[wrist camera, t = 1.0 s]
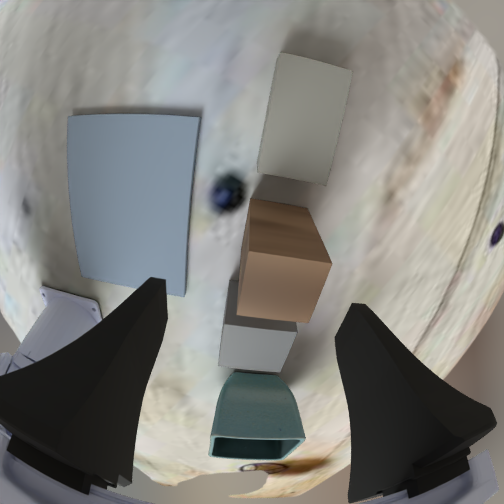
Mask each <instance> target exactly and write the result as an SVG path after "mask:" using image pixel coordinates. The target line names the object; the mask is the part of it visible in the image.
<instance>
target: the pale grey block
mask: <svg viewBox="0 0 504 504" xmlns="http://www.w3.org/2000/svg"><path fill="white" fill-rule="evenodd" d="M352 74H353V71H350V70H347V69H344V68H341V67H338V66H335V65H331V64H328V63H324V62H321V61H317V60H313V59H309V58H305V57H301V56H297V55H293V54H288V53H283V52H280V54H279V56H278V58H277V61H276V66H275V71H274V76H273V81H272V86H271V91H270V96H269V102H268V107H267V112H266V117H265V122H264V128H263V133H262V138H261V144H260V149H259V154H258V160H257V173H263V174H268V175H274V176H279V177H285V178H290V179H295V180H300V181H305V182H310V183H314V184H319V185H323V186H326V185H327V181H328V177H329V174H330V170H331V166H332V162H333V158H334V154H335V150H336V146H337V142H338V138H339V134H340V129H341V125H342V121H343V116H344V112H345V107H346V103H347V98H348V93H349V89H350V84H351V79H352Z"/></svg>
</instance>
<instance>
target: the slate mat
mask: <svg viewBox="0 0 504 504" xmlns="http://www.w3.org/2000/svg"><path fill="white" fill-rule="evenodd" d="M200 120H201V117H193V116H180V115H164V114H90V115H75V116H68V130H67V164H68V184H69V197H70V208H71V217H72V225H73V232H74V238H75V244H76V250H77V256H78V261H79V266H80V271H81V276H82V277H85V278H90V279H94V280H98V281H103V282H108V283H112V284H117V285H122V286H127V287H132V288H137V289H138V288H139V287H140V286H141V285H142V284H143V283H144V282H145V281H146V280H147V279H148V278H150V277H155V278H161V279H166V292H167V294H169V295H174V296H180V297H185V293H186V272H187V251H188V235H189V221H190V208H191V197H192V186H193V176H194V167H195V158H196V150H197V142H198V134H199V127H200Z"/></svg>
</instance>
